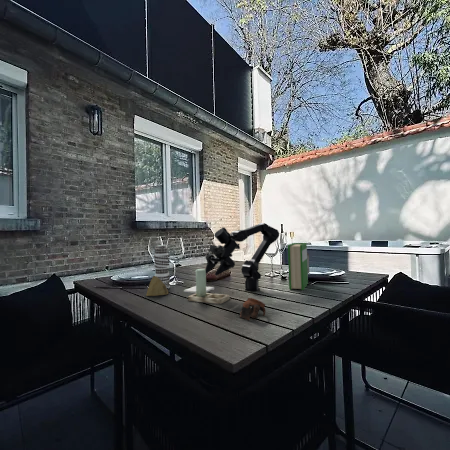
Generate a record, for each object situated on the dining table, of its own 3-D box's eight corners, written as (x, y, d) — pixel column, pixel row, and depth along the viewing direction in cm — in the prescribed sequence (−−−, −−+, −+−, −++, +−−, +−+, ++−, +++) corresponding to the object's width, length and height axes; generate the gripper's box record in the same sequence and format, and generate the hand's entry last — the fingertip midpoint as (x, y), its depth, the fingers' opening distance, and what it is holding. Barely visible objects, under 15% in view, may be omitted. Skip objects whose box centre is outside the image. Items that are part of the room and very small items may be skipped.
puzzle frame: (229, 300, 138) (229, 295, 138) (220, 305, 129) (220, 299, 129) (198, 297, 145) (198, 292, 145) (188, 301, 137) (188, 296, 137)
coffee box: (298, 277, 190) (297, 252, 190) (308, 277, 189) (308, 252, 189) (299, 279, 181) (298, 254, 182) (310, 280, 180) (309, 254, 180)
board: (214, 289, 161) (214, 287, 161) (203, 294, 150) (203, 291, 150) (195, 288, 166) (195, 285, 166) (184, 293, 156) (183, 290, 156)
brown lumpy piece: (235, 316, 115) (242, 296, 118) (257, 325, 116) (263, 305, 118) (243, 317, 104) (251, 295, 106) (267, 327, 104) (274, 305, 107)
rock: (173, 288, 157) (159, 284, 161) (168, 278, 152) (153, 274, 156) (162, 304, 150) (147, 300, 154) (156, 293, 145) (141, 289, 149)
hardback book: (303, 290, 152) (301, 245, 153) (289, 289, 155) (287, 245, 155) (307, 284, 169) (306, 242, 169) (295, 283, 172) (293, 242, 172)
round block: (208, 298, 140) (207, 269, 140) (203, 300, 136) (202, 270, 136) (199, 297, 142) (198, 269, 142) (194, 299, 138) (193, 270, 138)
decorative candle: (163, 290, 165) (161, 246, 165) (151, 288, 169) (149, 246, 169) (173, 286, 172) (172, 244, 173) (161, 285, 177) (160, 244, 177)
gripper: (208, 239, 153) (190, 262, 147) (229, 239, 138) (210, 265, 132) (220, 252, 158) (203, 275, 151) (242, 255, 143) (225, 280, 136)
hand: (210, 274), depth 142 cm, fingers open, 9 cm apart
